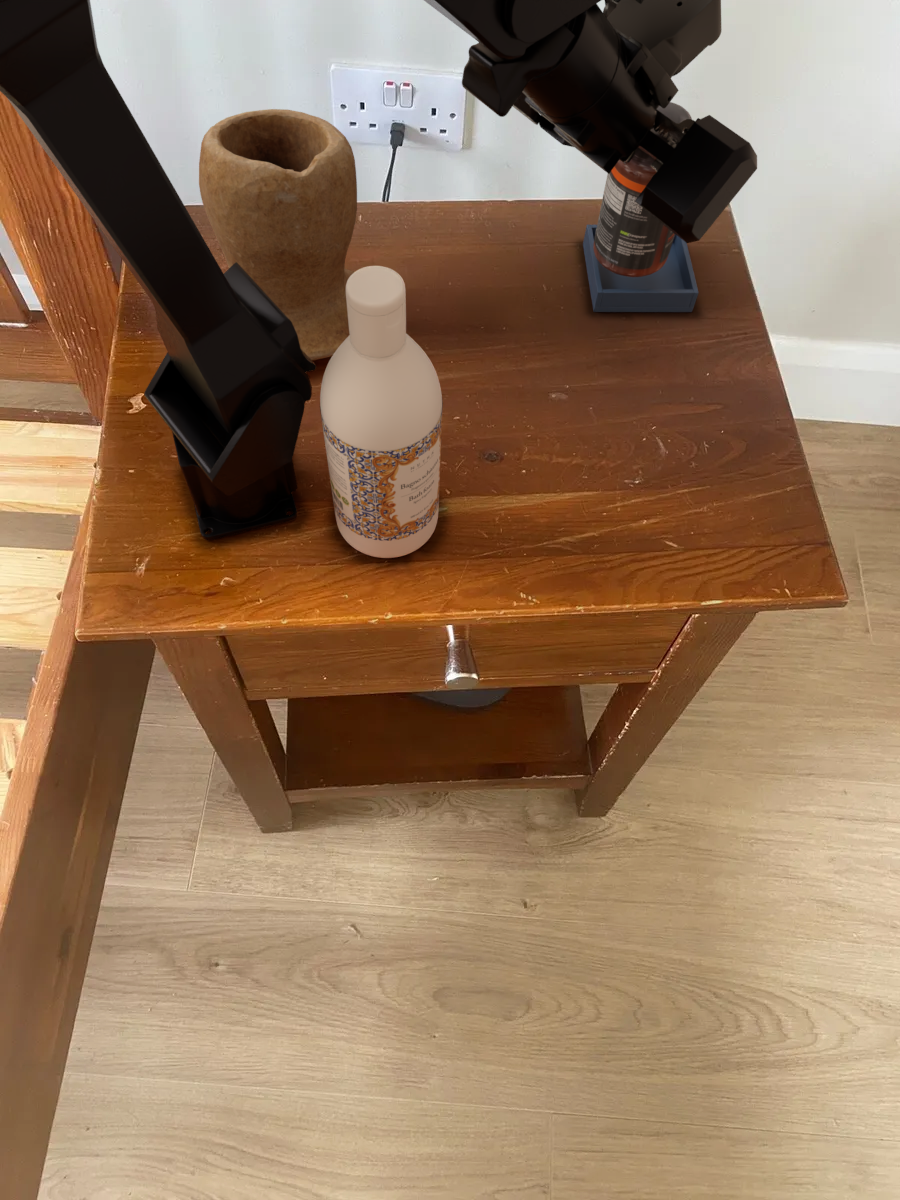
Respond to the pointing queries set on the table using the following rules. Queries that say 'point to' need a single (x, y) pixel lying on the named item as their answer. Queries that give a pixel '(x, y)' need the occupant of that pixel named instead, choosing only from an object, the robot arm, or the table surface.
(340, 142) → the stone cup
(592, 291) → the tray
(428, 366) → the bath foam
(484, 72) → the robot arm
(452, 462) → the table surface
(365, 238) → the table surface
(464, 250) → the table surface
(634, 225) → the supplement bottle
